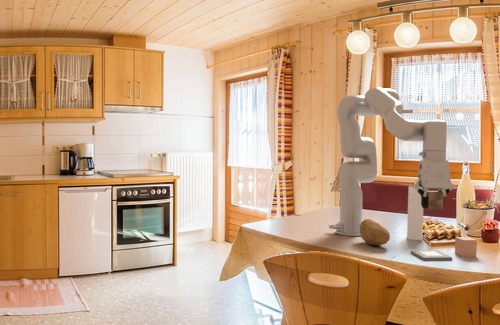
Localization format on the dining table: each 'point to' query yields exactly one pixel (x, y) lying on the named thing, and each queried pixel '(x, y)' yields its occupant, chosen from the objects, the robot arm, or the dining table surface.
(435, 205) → the walnut block
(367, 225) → the potato
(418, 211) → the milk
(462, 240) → the terracotta block
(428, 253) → the slate board
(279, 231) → the dining table surface
